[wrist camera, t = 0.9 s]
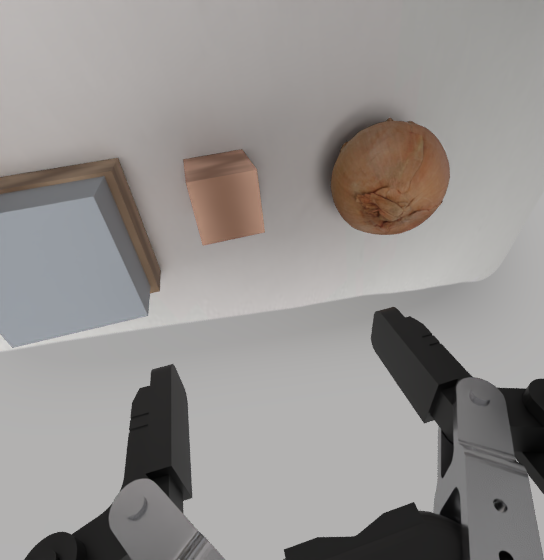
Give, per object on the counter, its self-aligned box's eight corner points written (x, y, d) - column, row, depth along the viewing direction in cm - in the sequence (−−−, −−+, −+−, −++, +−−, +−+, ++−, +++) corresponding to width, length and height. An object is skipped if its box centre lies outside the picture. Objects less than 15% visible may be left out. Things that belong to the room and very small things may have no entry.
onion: (321, 184, 34) (314, 245, 27) (354, 88, 27) (355, 140, 20) (406, 206, 34) (419, 272, 28) (460, 117, 27) (495, 177, 21)
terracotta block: (241, 149, 27) (256, 169, 22) (250, 204, 30) (264, 232, 25) (183, 159, 26) (185, 182, 22) (197, 214, 29) (202, 245, 25)
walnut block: (118, 156, 26) (111, 170, 22) (160, 267, 32) (159, 291, 29) (-33, 180, 24) (-63, 200, 21) (44, 292, 31) (30, 320, 27)
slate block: (104, 176, 22) (93, 196, 19) (150, 286, 28) (147, 315, 25) (-53, 203, 21) (-92, 229, 18) (31, 313, 27) (12, 347, 24)
